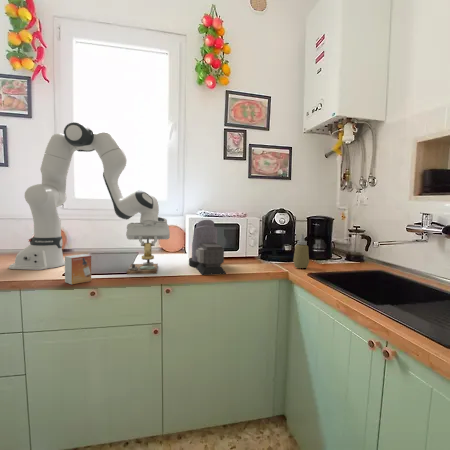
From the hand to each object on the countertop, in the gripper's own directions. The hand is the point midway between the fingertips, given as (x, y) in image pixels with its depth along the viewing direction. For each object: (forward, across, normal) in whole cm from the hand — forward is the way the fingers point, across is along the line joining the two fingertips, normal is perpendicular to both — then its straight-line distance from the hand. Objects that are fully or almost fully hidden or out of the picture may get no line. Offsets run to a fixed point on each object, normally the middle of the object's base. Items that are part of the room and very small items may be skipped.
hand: (147, 245), depth 132 cm
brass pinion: (+4, 0, +5) cm, 6 cm away
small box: (+20, -26, -3) cm, 33 cm away
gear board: (+7, -2, +10) cm, 12 cm away
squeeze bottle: (+9, +78, +9) cm, 79 cm away
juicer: (+5, +29, +13) cm, 32 cm away
